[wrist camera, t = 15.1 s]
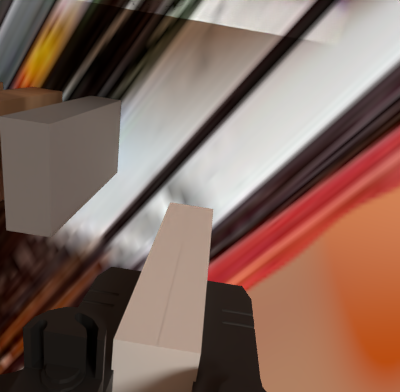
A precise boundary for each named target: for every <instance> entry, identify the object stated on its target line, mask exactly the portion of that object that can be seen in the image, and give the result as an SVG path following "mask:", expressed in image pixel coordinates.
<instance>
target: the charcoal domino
mask: <svg viewBox="0 0 400 392" xmlns="http://www.w3.org/2000/svg"><path fill="white" fill-rule="evenodd" d="M120 115H121V100H117V99H110V98H104V97H97V96H88V97H83V98H79V99H74V100H70V101H65V102H61V103H57V104H52V105H48V106H43V107H39V108H34V109H30V110H26V111H21V112H17V113H12V114H8V115H3V116H0V136H1V152H2V168H3V184H4V199H5V215H6V230H8V231H14V232H20V233H26V234H33V235H39V236H45V237H52V236H53V235H54V234H55V233H56V232H57V231H58V230H59V229H60V228H61V227H62V226H63V225H64V224H65V223H66V222H67V221H68V220H69V219H70V218H71V217H72V216H73V215H74V214H75V213H76V212H77V211H78V210H79V209H80V208H81V207H82V206H83V205H84V204H86V203H87V202H88V201H89V200H90V199H91V198H92V197H93V196H94V195H95V194H96V193H97V192H98V191H99V190H100V189H101V188H102V187H103V186H104V185H105V184H106V183H107V182H108V181H109V180H110V179H111V178H112V177H113V176H114V175H115V174H116V173H117V167H118V149H119V132H120Z"/></svg>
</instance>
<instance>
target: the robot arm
mask: <svg viewBox="0 0 400 392" xmlns="http://www.w3.org/2000/svg"><path fill="white" fill-rule="evenodd" d="M212 217H213V209H209V208H202V207H196V206H190V205H183V204H177V203H171V202H170V204H169V207H168V209H167V212H166V214H165V216H164V219H163V221H162V224H161V226H160V229H159V231H158V233H157V236H156V238H155V241H154V243H153V245H152V248H151V250H150V253H149V255H148V257H147V260H146V262H145V265H144V267H143V269H142V272H141V271H135V270H129V269H123V268H116V267H111V268H109V269H108V270H106V271H105V272H103V273H102V274H100V275H99V276H97V278H96V279H95V281H94V283H93V284H92V286H91V287H90V290H89V292H87V294H86V296H85V297H84V299H83V302H82V303H81V304H80V305H79V307H78V308H74V307H63V308H58V309H54V310H49V311H47V312H45V313H42V314H40V315H38V316H36V317H34V318H33V319H32V320H31V321H30V322H29V323H27V324H26V325H25V326H24V327H23V342H24V369H22V370H19V371H17V372H13V373H8V374H3V375H0V392H266V391H265V390H264V388H263V387H262V383H261V379H260V372H259V364H258V355H257V346H256V337H255V329H254V320H253V311H252V302H251V298H250V297H249V296H248V294H247V293H246V291H245V290H244V288H243V287H242V286H237V285H231V284H224V283H218V282H212V281H207V276H208V264H209V252H210V241H211V229H212Z"/></svg>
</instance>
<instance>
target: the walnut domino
mask: <svg viewBox="0 0 400 392" xmlns="http://www.w3.org/2000/svg"><path fill="white" fill-rule="evenodd" d="M61 102H62V91H56V90H49V89H43V88H36V87H28V88H19V89H10V90H1V91H0V116H3V115H8V114H12V113H17V112H21V111H26V110H30V109H34V108H39V107H43V106H48V105H52V104H57V103H61ZM2 200H4V184H3V168H2V152H1V136H0V201H2Z"/></svg>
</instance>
